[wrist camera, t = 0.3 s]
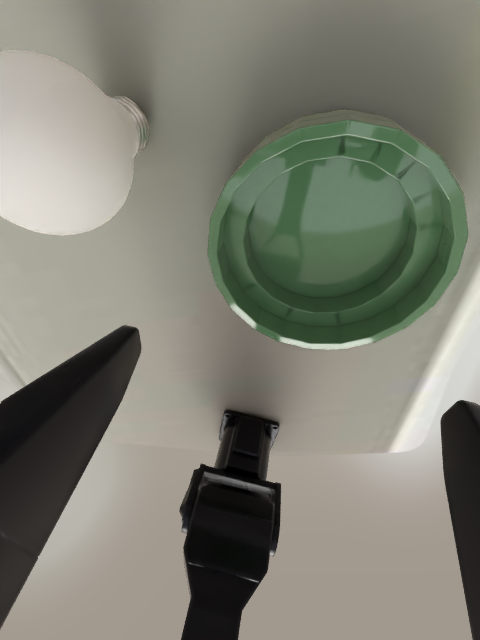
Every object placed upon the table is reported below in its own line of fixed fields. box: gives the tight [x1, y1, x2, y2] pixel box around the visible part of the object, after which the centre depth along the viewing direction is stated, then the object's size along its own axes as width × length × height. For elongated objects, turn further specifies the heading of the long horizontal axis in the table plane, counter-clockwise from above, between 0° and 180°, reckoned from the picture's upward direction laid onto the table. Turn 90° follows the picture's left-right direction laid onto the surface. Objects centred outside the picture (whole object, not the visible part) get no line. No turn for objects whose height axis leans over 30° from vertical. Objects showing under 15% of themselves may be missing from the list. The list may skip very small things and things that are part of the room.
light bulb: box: [0, 50, 149, 236], centre depth 15 cm, size 7×7×11 cm
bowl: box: [208, 109, 468, 350], centre depth 19 cm, size 14×14×4 cm
